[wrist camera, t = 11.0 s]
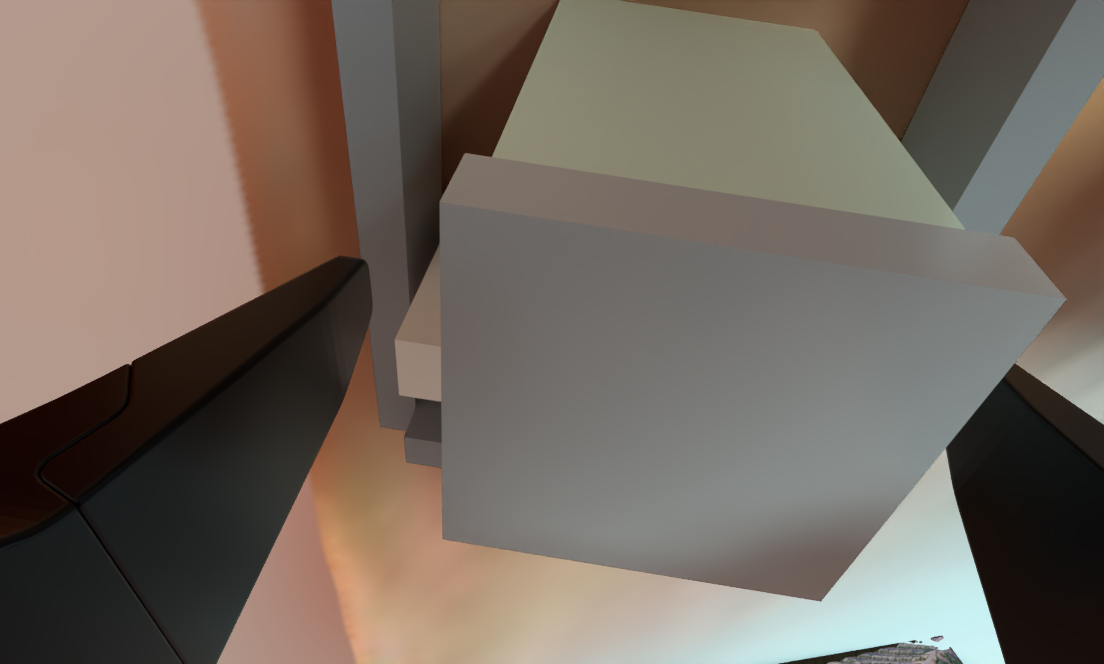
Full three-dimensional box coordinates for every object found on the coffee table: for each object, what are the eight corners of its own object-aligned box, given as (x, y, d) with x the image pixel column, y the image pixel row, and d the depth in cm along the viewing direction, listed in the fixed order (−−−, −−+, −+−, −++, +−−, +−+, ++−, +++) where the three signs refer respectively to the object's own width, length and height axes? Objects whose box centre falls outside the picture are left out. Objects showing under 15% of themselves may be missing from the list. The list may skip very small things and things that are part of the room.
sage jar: (830, 20, 12) (1067, 298, 5) (744, 253, 16) (820, 600, 9) (555, -21, 12) (439, 202, 5) (530, 219, 16) (442, 539, 9)
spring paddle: (456, 207, 16) (394, 339, 12) (828, 263, 15) (888, 415, 12) (455, 412, 20) (411, 551, 17) (737, 455, 20) (758, 607, 16)
